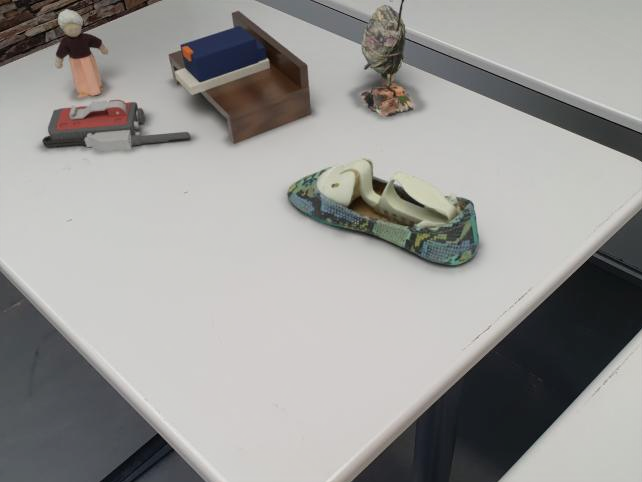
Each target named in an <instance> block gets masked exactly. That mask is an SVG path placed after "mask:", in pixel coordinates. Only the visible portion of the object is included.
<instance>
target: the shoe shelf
mask: <svg viewBox="0 0 642 482" xmlns="http://www.w3.org/2000/svg"><path fill="white" fill-rule="evenodd" d="M231 17H232V25H233V28H234V27H237V26H241V27H242V28H243V29H244V30H245V31H247V32H248V33H249V34H250V35H252V36H253V37H254V38H255V39H256V40H257V41H258V42H260V43H261V44H262V45H263V46H265V51H266V58H267V59H268V60H269V63H270V68H269V69H266V70H263V71H260V72H257V73H254V74H251V75H248V76H246V77H243V78H240V79H237V80H234V81H231V82H228V83H226V84H223V85H220V86H217V87H214V88H211V89H208V90H205V91H203V92H200V94H201V95H202V96H203V98H205V99H206V100H207V101H208V102H209V103H210V104H211V105H212V106H213V107H214V108H215V109H216V111H218V112H219V114H220V115H222V116H223V117H224V118H225V119H226V122H227V123H226V124H227V130H228V134H229V140H230V142H231V143H233V144H234V145H236V144H238V143H241V142H244V141H246V140H249V139H252V138H254V137H257V136H259V135H262V134H264V133H267V132H269V131H272V130H275V129H277V128H280V127H283V126H285V125H288V124H290V123H293V122H296V121H299V120H301V119H303V118H306V117H309V116H311V115H312V109H311V95H310V82H309V68H308V67H309V66H308V64H307V63H306V62H304V61H303V60H302V59H301V58H299V57H298V56H297V55H295V54H294V53H293V52H291V51H290V50H289V49H288V48H287V47H285V46H284V45H283V44H281V43H280V42H279V41H278V40H277V39H275V38H274V37H273V36H272V35H270V34H268V32H266V31H265V30H264V29H263V28H261V27H260V26H258V25H257V24H256V23H255V22H253V21H252V20H251V19H250V18H249V17H248V16H246V15H245V14H244V13H242V12H241V11H240V10H236V11H233V12H231ZM167 55H168V59H169V63H170V69H171V70H172V71H171V73H172V76H173V80H174V83H175V84H176V85H177V86H178V85H179V86H180V85H181V83H180V82H179V81H178V80H177V79H176V75H175V71H177V70H180V69H183V68H185V65H184V60H183V56H182V51H181V49H180V50H177V51H175V52H174V51H173V52H171V53H168V54H167Z"/></svg>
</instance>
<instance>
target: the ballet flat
mask: <svg viewBox="0 0 642 482" xmlns="http://www.w3.org/2000/svg"><path fill="white" fill-rule="evenodd" d="M395 182H397V183H399V185H398V184H397V183H395ZM286 194H287V198H288V200H289V201H290V203H291V204H292V205H293V206H294V207H295V208H297V209H298V210H299V211H301V212H302V213H304V214H305V215H306V216H308V217H310V218H312V219H314V220H316V221H318V222H320V223H323V224H326V225H330V226H334V227H339V228H344V229H349V230H352V231H353V230H354V231H357V232H362V233H365V234H368V235H372V236H373V237H374V236H375V237H378V238H381V239H383V240H385V241H387V242H390V243H392V244H393V245H397V246H399V247H400V248H403V249H405V250H407V251H408V252H410V253H413V254H414V255H416V256H418V257H420V258H422V259H425V260H427V261H429V262H432V263H437V264H441V265H445V266H459V265H462V264H464V263H466V262H467V261H469V260H471V259H472V258H473V257H474V256H475V255H476V253H477V251H478V249H479V245H480V244H479V243H480V236H479V232H478V224H477V213H476V210H475V205H474V203H473V201H472V200H470V199H467V198H465V197H461V196H460V197H459V196H458V195H457V193H451V194H450V195H444V194H443V193H442V191H440V190H439V188H436V186H434V185H432V184H431V183H429V182H428V181H426V180H424V179H422V178H419V177H415V176H412V175H408V174H405V173H403V172H400V171H399V172H398V171H397V172H396V173H394V174H393V175H392V176H391V177H390V179H389V180H385V179H382V178H379V177H377V176H375V175H374V163H373V161H372V159H370V158H369V157H364V158H360V159H355V160H353V161H351V162H349V163H347V164H342V165H341V164H339V165H338V164H337V165H335V166H328V167H326V168H323V169H321V170H320V171H317V172H314V173H311V174H308V175H306V176H304V177H302V178H300V179H299V180H297V181H295V182H293V183H292V184H291V186H289V188H288V189H287V193H286Z"/></svg>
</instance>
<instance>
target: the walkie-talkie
mask: <svg viewBox="0 0 642 482" xmlns="http://www.w3.org/2000/svg"><path fill="white" fill-rule="evenodd" d="M138 106H139V105H138V103H137V102H135V101H130V102H125V101H123V100H122V99H110V100H109V101H107V100H99V101H92V102H91V103H90V104H89V105H84V106H76V105H72V106H71V107H62V108H58V109H54V110H53V112H52V113H51V114H52V115H51V118H50V121H49V123H48V126H47V132H48V135H47V136H44V137H43V138H42V140H41V142H42V143H43V146H45V147H57V148H59V147H68V146H69V147H70V146H79V145H80V146H82V145H83V146H86V148H94V149H95V150H98V151H101V152H111V151H123V150H124V151H131V150H132V147H134V146H142V145H145V144H157V143H165V142H166V143H167V142H170V140H181V139H189V138H191V134H190V133H189V132H188V131H181V132H179V131H178V132H170V133H169V132H168V133H159V134H157V133H156V134H145V135H141V134H142V133H141V132H140V131H138V130H139V129H140V124H141V125H144V124H145V122H146V118H145V112H144V109H143V108H142V107H140V108H139V107H138Z"/></svg>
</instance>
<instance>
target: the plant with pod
mask: <svg viewBox="0 0 642 482" xmlns="http://www.w3.org/2000/svg"><path fill="white" fill-rule="evenodd" d="M389 2H390V3H393V2H394V1H393V0H389ZM404 2H405V0H401V3H400V6H399V9H398V10H399V11H398V12H397V11H396V10H395V9H394V8H392V6H390V5H389V4H388V5H387V4H383V5H381V6H380V7H377V8H376V10H374V12H373V13H372V15H371V17H370V19H369V20H368V22H367V24H366V26H365V27H364V30H363V31H364V32H363V35H362V40H361V54H362V56H363V57H364V59H365V60H366V62H367V63H366V64H365V65H364V66H363V70H364V71H367V70H368V69H369V68H370V69H373V71H375V72H376V73H377V74H380V81H381V82H380V83H381V86H379V85H376V86H374V87H372V88H371V90H370V91H367V90H366V91H363V92H362V93H361V95H360V99H362V100H363V101H365V103H362V106H365V107H366V108H367V109H368V108H370V110H371V111H374V112H376V113H377V114H378V115H379V116H381V117H382V116H383V117H386V118H389V116H392V115H393V114H397V113H400V112H401V113H403V112H405V113H407V112H410V111H414V107H413V106H414V105H413V104H414V103H413V101H412V98H411V94H410V93H406V90H407V88H406V87H405V88H404V87H402V86H400V85H399V84H397V83H395V82H394V79H395V77H396V75H397V73H398V72H399V70H400V68H401V67H402V64H403V63H402V62H403V60H404V58H405V57H404V51H405V50H404V49H405V45H406V33H407V30H406V24H405V23H404V21H403V18H402V14H403V13H402V12H403V5H404Z"/></svg>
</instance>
